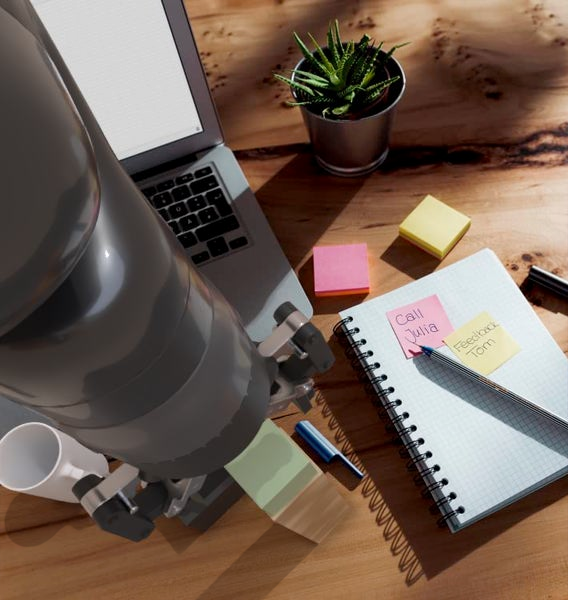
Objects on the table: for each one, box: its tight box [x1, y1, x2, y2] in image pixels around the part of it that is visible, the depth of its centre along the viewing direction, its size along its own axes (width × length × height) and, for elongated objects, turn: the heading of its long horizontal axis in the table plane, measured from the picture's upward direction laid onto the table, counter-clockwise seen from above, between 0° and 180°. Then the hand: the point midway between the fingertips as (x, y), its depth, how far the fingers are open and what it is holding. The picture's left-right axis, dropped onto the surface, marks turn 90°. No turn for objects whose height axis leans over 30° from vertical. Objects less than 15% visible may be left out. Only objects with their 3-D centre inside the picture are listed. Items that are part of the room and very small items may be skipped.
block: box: [224, 417, 318, 516], centre depth 48 cm, size 4×4×4 cm
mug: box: [0, 421, 110, 504], centre depth 70 cm, size 10×7×12 cm, turn 71°
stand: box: [264, 426, 352, 545], centre depth 62 cm, size 5×5×26 cm
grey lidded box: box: [176, 467, 247, 532], centre depth 73 cm, size 9×9×7 cm
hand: (247, 448), depth 42 cm, fingers open, 8 cm apart
